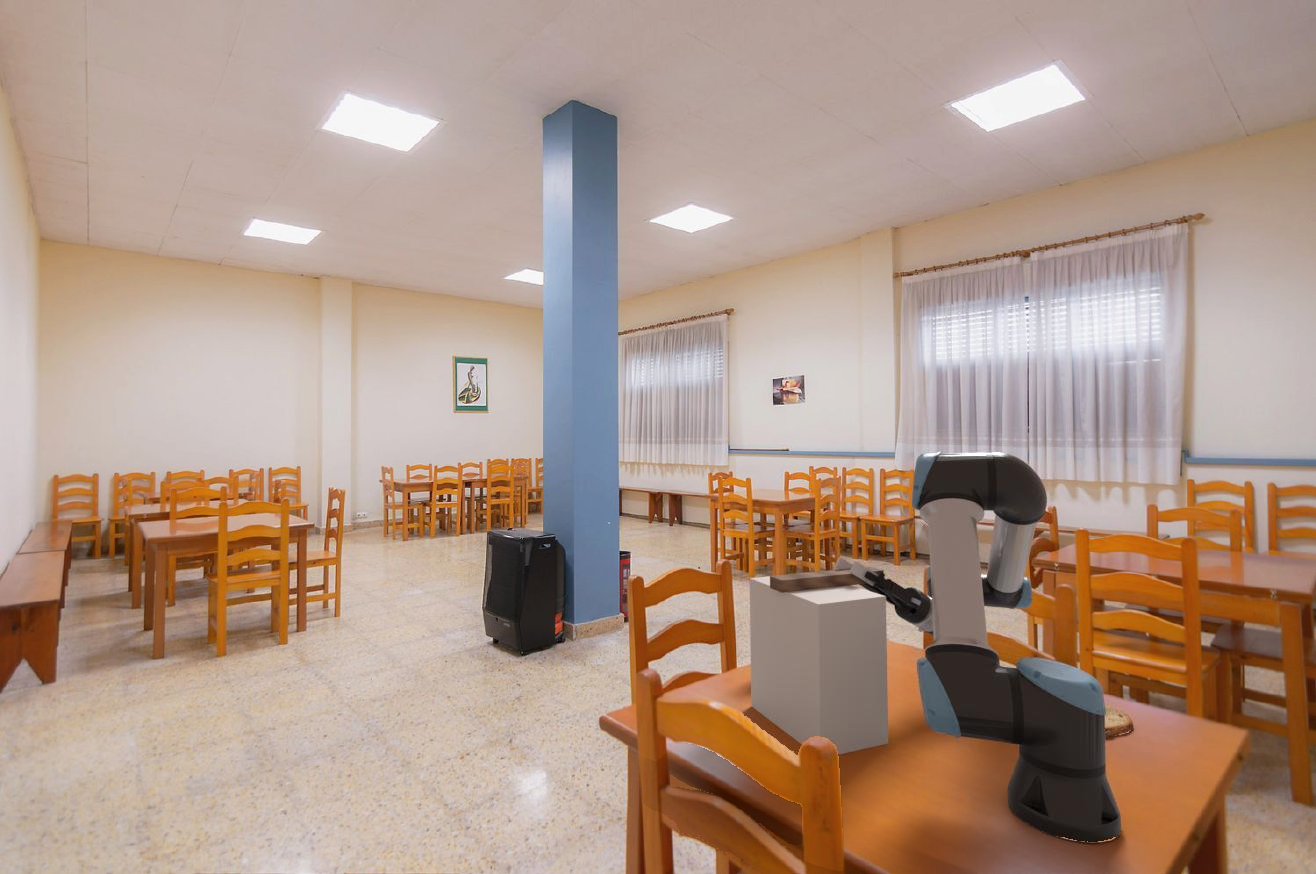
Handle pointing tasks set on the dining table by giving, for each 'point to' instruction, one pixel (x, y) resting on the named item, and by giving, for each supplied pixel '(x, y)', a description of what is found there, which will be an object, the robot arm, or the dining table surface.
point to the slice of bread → (1116, 722)
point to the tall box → (820, 663)
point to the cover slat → (816, 580)
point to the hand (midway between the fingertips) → (845, 564)
